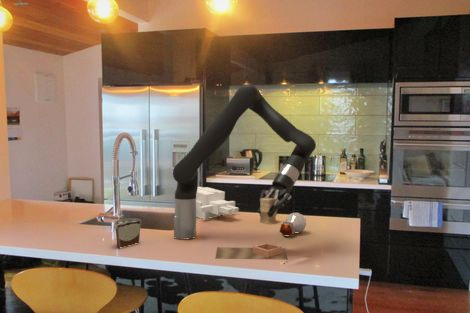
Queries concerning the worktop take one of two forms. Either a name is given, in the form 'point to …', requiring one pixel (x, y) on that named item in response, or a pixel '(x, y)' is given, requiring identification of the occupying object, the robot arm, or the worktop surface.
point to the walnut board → (244, 254)
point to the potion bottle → (293, 224)
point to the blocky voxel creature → (212, 203)
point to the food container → (127, 231)
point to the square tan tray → (267, 250)
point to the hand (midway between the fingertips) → (264, 214)
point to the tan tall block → (266, 211)
